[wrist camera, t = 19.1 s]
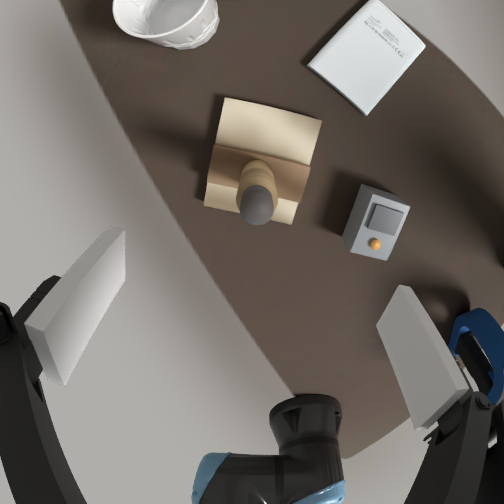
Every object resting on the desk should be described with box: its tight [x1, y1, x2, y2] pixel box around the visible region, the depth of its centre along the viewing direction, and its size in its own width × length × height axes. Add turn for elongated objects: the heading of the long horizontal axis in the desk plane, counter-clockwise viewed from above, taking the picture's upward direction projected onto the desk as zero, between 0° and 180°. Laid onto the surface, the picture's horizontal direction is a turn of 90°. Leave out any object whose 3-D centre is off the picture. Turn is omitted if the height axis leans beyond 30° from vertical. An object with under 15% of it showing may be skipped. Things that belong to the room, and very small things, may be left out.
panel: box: [203, 98, 322, 225], centre depth 30 cm, size 12×10×2 cm
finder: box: [342, 184, 410, 261], centre depth 32 cm, size 7×5×4 cm
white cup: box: [113, 0, 219, 50], centre depth 19 cm, size 8×8×10 cm
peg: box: [236, 160, 278, 225], centre depth 25 cm, size 3×3×10 cm
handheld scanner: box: [448, 308, 504, 405], centre depth 35 cm, size 5×16×20 cm, turn 16°
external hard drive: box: [307, 0, 426, 115], centre depth 24 cm, size 2×8×12 cm
